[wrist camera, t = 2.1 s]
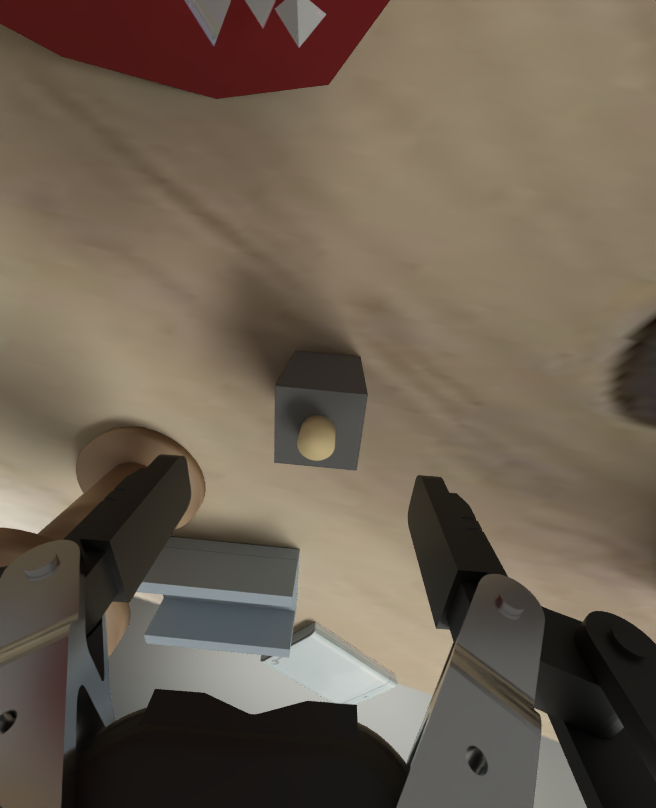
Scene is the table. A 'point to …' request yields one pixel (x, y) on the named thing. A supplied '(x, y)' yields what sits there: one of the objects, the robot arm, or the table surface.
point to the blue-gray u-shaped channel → (224, 596)
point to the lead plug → (320, 411)
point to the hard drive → (332, 667)
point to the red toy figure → (202, 39)
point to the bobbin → (97, 478)
